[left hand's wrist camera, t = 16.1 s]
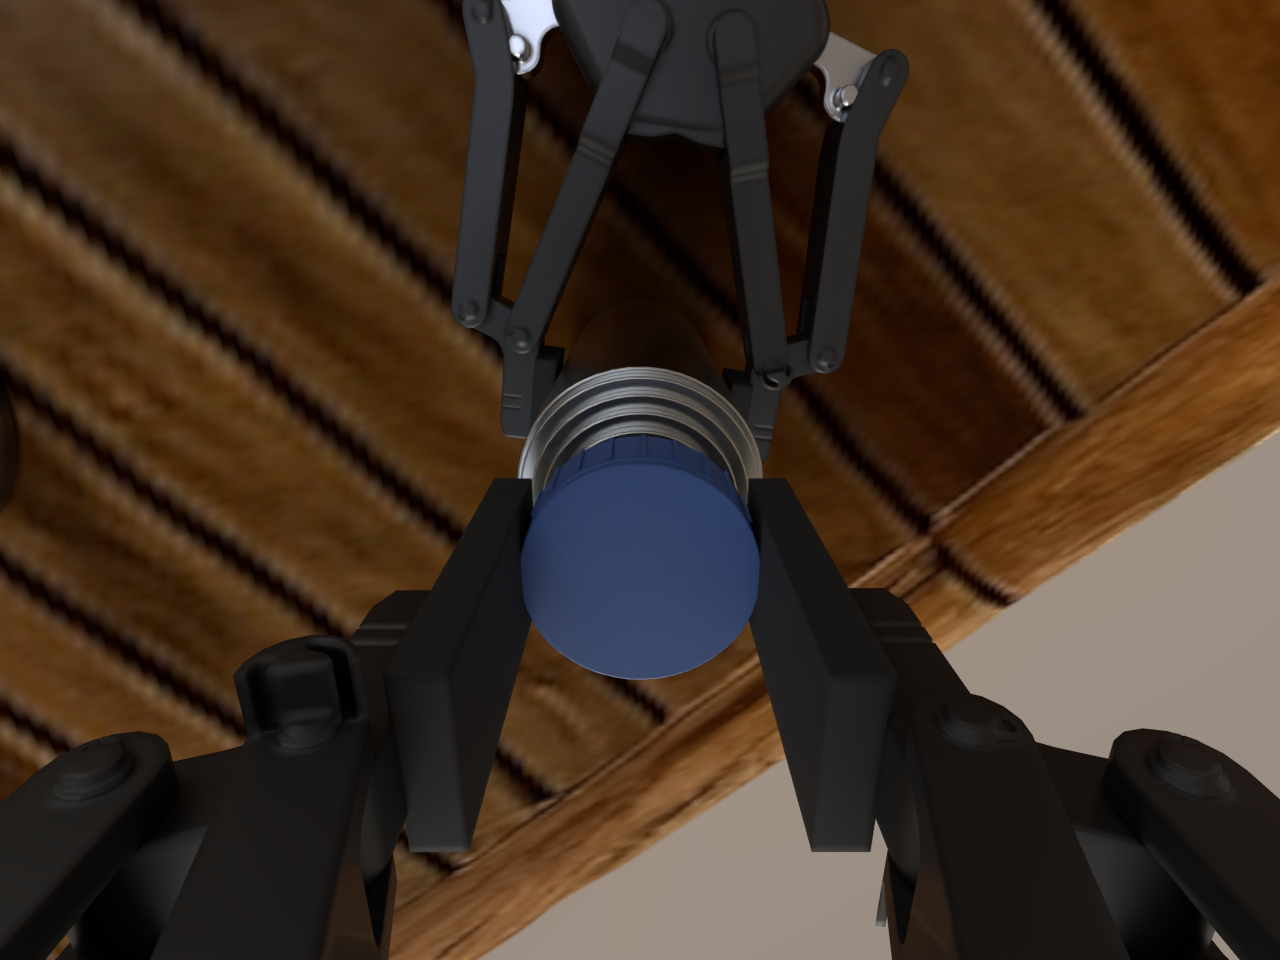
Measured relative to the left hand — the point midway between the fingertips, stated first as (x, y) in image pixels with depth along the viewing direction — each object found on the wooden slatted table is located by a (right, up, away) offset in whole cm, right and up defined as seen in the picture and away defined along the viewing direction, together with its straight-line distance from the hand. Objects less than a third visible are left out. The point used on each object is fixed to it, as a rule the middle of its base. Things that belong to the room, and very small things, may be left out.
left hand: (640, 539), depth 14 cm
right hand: (-1, -1, +13) cm, 13 cm away
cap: (0, 0, -1) cm, 1 cm away
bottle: (0, +6, +17) cm, 18 cm away
